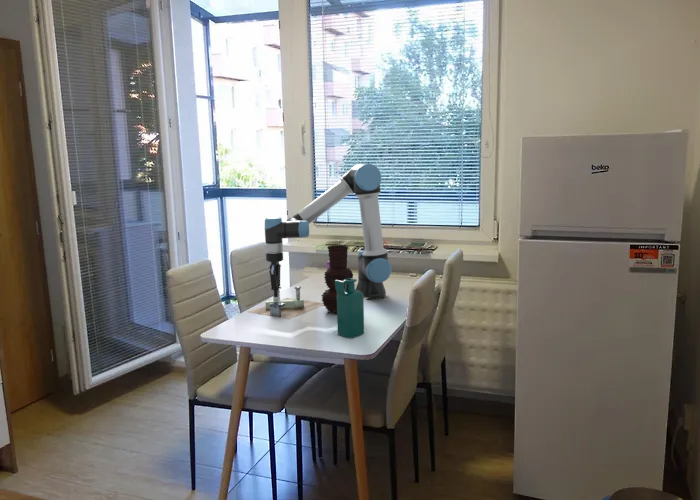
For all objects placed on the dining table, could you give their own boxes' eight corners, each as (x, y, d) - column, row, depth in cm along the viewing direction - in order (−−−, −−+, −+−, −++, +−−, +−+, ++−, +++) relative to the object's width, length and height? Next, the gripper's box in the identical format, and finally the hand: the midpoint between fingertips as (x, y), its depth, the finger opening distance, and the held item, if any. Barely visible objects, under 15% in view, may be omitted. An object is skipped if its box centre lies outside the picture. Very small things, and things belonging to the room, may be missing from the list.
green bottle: (351, 329, 221) (350, 275, 218) (366, 334, 215) (365, 278, 211) (332, 335, 215) (331, 279, 211) (347, 340, 208) (346, 282, 205)
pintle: (302, 299, 251) (302, 286, 250) (298, 300, 248) (298, 287, 248) (297, 298, 252) (297, 285, 251) (293, 299, 250) (293, 287, 249)
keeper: (285, 314, 239) (285, 303, 238) (279, 316, 236) (279, 305, 235) (276, 313, 242) (275, 301, 241) (270, 315, 238) (269, 304, 238)
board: (327, 306, 256) (327, 303, 256) (289, 322, 233) (289, 319, 233) (287, 300, 268) (287, 297, 268) (247, 315, 245) (247, 312, 245)
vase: (314, 315, 242) (312, 247, 237) (337, 307, 254) (336, 242, 249) (341, 321, 232) (339, 250, 228) (364, 313, 244) (363, 245, 239)
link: (304, 304, 254) (303, 298, 253) (304, 307, 249) (303, 301, 248) (266, 306, 252) (266, 300, 252) (265, 309, 247) (265, 302, 247)
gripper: (269, 249, 255) (271, 299, 259) (262, 254, 242) (265, 307, 246) (285, 249, 254) (287, 299, 258) (279, 254, 242) (282, 307, 246)
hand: (276, 303), depth 252 cm, fingers closed
